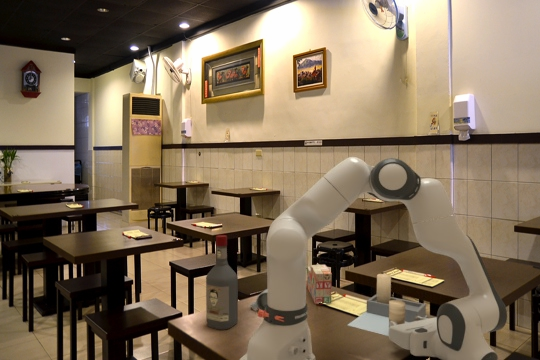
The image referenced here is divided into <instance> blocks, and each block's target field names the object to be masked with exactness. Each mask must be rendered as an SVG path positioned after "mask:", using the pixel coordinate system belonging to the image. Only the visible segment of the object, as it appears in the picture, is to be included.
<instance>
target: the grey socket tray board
mask: <svg viewBox="0 0 540 360" xmlns="http://www.w3.org/2000/svg"><path fill="white" fill-rule="evenodd" d="M391 283H392V276H391V274H387V273H378V274H377V275H376V294H374V295H373V296H372V297H370V298H369V299H367V300H366V311H365V312H363V313H362V314H361V315H359V316H358V317H356V318H355V319H354V320H352V321H350V322H349V323H348V324H347V326H348V327H352V328H356V329H360V330H363V331H366V332H367V331H368V332H372V333H376V334H380V335H383V336H386V337H389V301H391V300H400V301H403V302H405V323H409V322H414V317H415V316H420V317H422V318H428V315H427V313H426V312H427V304H426V303H421V302H419V301H417V302H416V301H413V300H407V299H404V298H403V299H402V298H397V297H393V296H392V294H391V291H392V289H391V288H392V284H391Z"/></svg>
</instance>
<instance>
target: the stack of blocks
mask: <svg viewBox="0 0 540 360" xmlns="http://www.w3.org/2000/svg"><path fill="white" fill-rule="evenodd" d="M332 275H333V274H332V272H331V271H330V268H328V266H327V265H326V264H310V266H307V265H306V288H307V289H308V291H309V293H310V295H311V297H312V300H313V302H314V305H320V304H319V303H321V302H322V303H331V304H332Z"/></svg>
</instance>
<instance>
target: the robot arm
mask: <svg viewBox="0 0 540 360" xmlns="http://www.w3.org/2000/svg"><path fill="white" fill-rule="evenodd" d="M366 193H367V194H368V195H370V196H373V197H375V198H376V199H377V200H379V201H382V202H386V203H394V202H397V201H399V202H401V203H402V204H404V205H405V207H406V209H407V211H408V213H409V217H410V220H411V224H412V228H413V233H414V235H415V238H416V241H417V242H418V244H419V245H420V246H421V247H423V248H424V249H425V250H426V251H429V252H431V253H434V254H438V255H443V256H446V257H450V258H451V259H453V260H454V261H455V262H456V263H457V264H458V266H459V268H460V270H461V272H462V275H463V277H464V280H465V282H466V285H467V287H468V289H469V294H468V295H467V296H464V297H461V298H457V299H453V300H451V301H450V300H449V301H448V302H447V301H446V302H444V303H442V304H441V305H440V306H439V308H438V310H437V313H436V316H435V317H431V318H428V317H426V318H422V317H420V316H415V317H414V322H409V323H404V324H399V325H397V322H396V321H390V322H389V326H390V327H389V336H388V339H389V340H390V341H391V342H392V343H394V344H395V345H397V346H398V347H400V348H402V349H405V350H408V351H409V352H410V354H411V355H413V356H415V357H430V358H431V357H432V358H438V359H440V360H498V359H499V357H498V354H497V352H496V351H495V350H493V348H491V347H490V345H489V344H488V342H487V340H486V338H485V337H484V334H486V333H492V332H497V331H500V330H502V329H503V328H504V327H505V326H506V323H507V322H508V321H507V320H508V310H507V307H506V304H505V303H504V301H503V300H502V298H501V297H500V295H499V293H498V292H497V291H496V288H495V287H494V284H493V282H492V280H491V277H490V276H489V273H488V270H487V268H486V266H485V264H484V262H483V259H482V257H481V255H480V253H479V251H478V248H477V246H476V244H475V242H474V241H473V239H472V238H471V237H470V236H469V235H468V234H466V233H465V232H464V231H463V228H462V227H461V226H460V224H459V222H458V219H457V217H456V216H457V215H455V214H456V213H455V210H454V209H455V208H454V207H453V204H452V201H451V199H450V196H449V194H448V193H447V191H446V188H445V187H444V184H443V183H442V182H441V181H440V180H439V179H436V178H433V177H432V178H431V177H427V178H421V176H420V175H419V174H418V173H417V172H416V171H414V169H413V168H412V167H411V166H410V165H409V164H408V163H406V162H405V161H403V160H402V159H399V158H392V157H389V158H386V159H383V160H381V161H379V162H378V163H376V164H375V165H370V164H368V163H367V162H365V161H364V160H363V159H361V158H359V157H356V156H349V157H347V158H345V159H343V160H342V161H340V162H339V163H338V164H336V165H334V166H333V167H332V168H331V169H329V170H328V171H327V172H326V173H325V174H324V175H323V176H321V178H320V179H319V180H318V181H316V183H314V184H313V186H311V187H310V188H309V189H308V190H307V191H306V192H305V193H304V194H303V195H302V196H301V197H300V198H298V199H297V200H296V201H295V202H293V203H292V204H291V205H289V206H288V208H286V209H285V210H284V211H283V212H282V213H280V214H279V216H277V217H276V218H275V219H274V220H273V221H272V223H270V225H269V229H268V232H267V236H266V240H265V241H266V243H265V244H266V247H265V249H266V273H267V276H266V277H267V283H266V284H267V288H266V289H267V304H266V307H265V311H263V310H261V309H260V310H259V309H258V312H257V316H258V318H262V321H261V323H260V324H259V325H258V327H257V329H256V330H255V332H254V333H253V334H252V336H251V338H250V339H249V341H248V344H247V351H246V353H244V355H243V356H242V357H240V358H239V360H316V356H315V354H314V353H313V347H312V346H313V344H312V334H311V333H312V332H311V329H310V326H309V323H308V321H307V318H308V313H309V311H308V310H309V309H308V304H307V264H308V263H307V262H308V258H307V257H308V241H309V240H310V239H311V238H312V237H314V236H315V235H316V234H317V233H319V232H321V230H323V229H324V228H326V227H327V226H329V225H331V224H332V223H333V222H334V221H335V220H336V219H337V218H338V217H339V216H340V215H341V214H343V213H344V212H345V211H346V210H348V208H349V207H350V206H351V205H352V204H353V203H354V202H355V201H356V200H357V199H359V198H360V197H361V196H363V195H365V194H366Z"/></svg>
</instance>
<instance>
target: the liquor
mask: <svg viewBox="0 0 540 360" xmlns="http://www.w3.org/2000/svg"><path fill="white" fill-rule="evenodd" d="M215 246H216V262H215V264H214V266H213V267H212V268H211V269H210V270H209V272H208V273H207V275H206V276H205V285H206V286H205V288H206V289H205V290H206V292H205V297H206V299H205V301H206V302H205V304H206V306H205V308H206V309H205V310H206V311H205V312H206V321H205V322H206V325H207V326H208V328H212V329H216V330H220V331H222V330H229V329H231V328H232V327H233V326H234V327H235V325H237V324H238V320H239V318H238V317H239V316H238V312H239V309H238V308H239V307H238V306H239V304H238V302H239V301H238V300H239V299H238V298H239V297H238V296H239V295H238V294H239V293H238V291H239V290H238V289H239V287H238V285H239V284H238V283H239V282H238V281H239V280H238V275H237V273H236V272H235V270H233V268H232V267H231V266H230V264H229V262H228V253H227V252H228V251H227V250H228V249H227V248H228V247H227V246H228V235H224V234H219V235H218V234H217V235H215Z"/></svg>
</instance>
